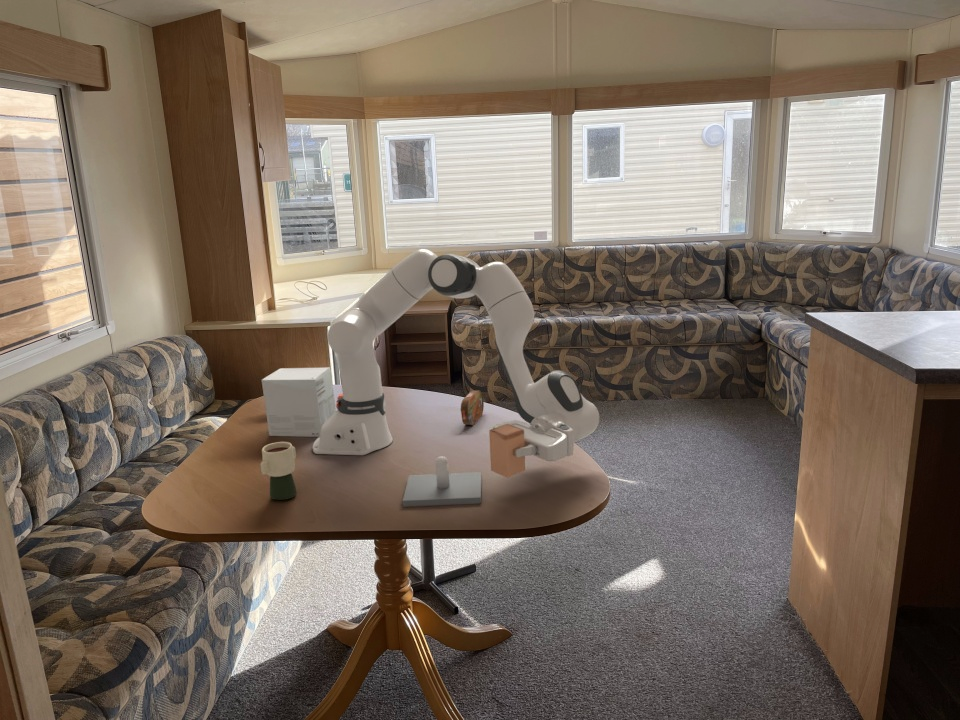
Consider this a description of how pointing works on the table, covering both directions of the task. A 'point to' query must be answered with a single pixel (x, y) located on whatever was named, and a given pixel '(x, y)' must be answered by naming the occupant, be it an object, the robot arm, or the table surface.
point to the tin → (472, 407)
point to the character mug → (279, 469)
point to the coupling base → (443, 496)
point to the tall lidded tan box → (506, 450)
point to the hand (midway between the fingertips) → (504, 449)
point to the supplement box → (298, 401)
